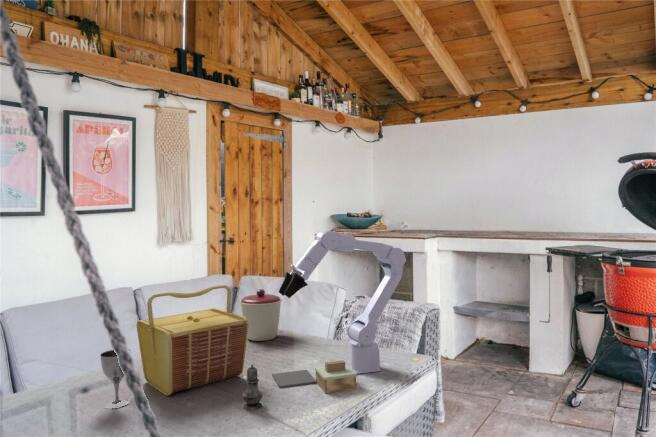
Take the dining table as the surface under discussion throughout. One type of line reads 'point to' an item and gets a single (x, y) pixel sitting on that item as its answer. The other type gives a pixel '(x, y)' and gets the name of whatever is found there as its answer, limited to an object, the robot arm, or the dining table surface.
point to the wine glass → (112, 370)
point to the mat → (293, 378)
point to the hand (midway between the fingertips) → (283, 295)
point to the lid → (335, 370)
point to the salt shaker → (252, 390)
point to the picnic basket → (192, 345)
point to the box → (336, 384)
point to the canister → (261, 315)
